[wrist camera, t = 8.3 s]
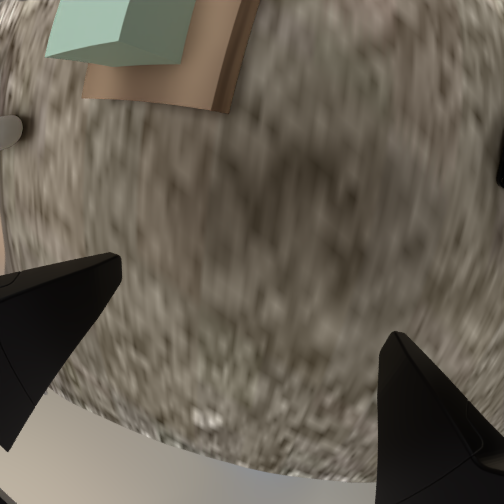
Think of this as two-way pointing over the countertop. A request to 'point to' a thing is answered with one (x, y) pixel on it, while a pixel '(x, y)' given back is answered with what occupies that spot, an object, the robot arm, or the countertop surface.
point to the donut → (9, 130)
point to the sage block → (120, 31)
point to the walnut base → (187, 63)
